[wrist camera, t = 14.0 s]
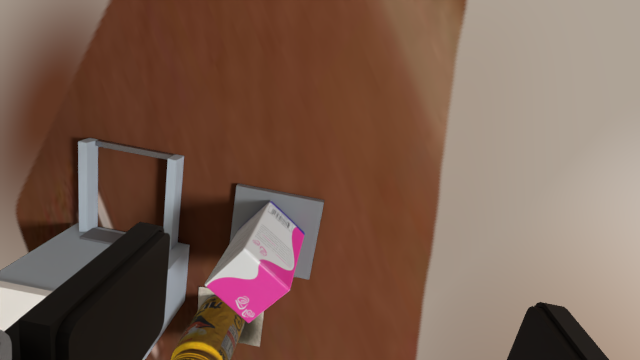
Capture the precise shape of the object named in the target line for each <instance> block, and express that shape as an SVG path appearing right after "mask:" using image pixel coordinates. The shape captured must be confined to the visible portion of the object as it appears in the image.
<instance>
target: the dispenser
mask: <svg viewBox="0 0 640 360" xmlns="http://www.w3.org/2000/svg"><path fill="white" fill-rule="evenodd" d="M96 140H98V139H93V138H87V139H84V140H81V141H78V180H79V223H77V224H75V225H73V226H72V227H70V228H68V229H67V230H65V231H64V232H62V233H60V234H59V235H57V236H55V237H54V238H52V239H51V240H49V241H47V242H46V243H44V244H42V245H41V246H39V247H38V248H36V249H34V250H33V251H31V252H29V253H28V254H26V255H25V256H23V257H22V258H20V259H18V260H17V261H15V262H13V263H12V264H10V265H8V266H7V267H5V268H4V269H2V270H0V330H2V331H5V330H6V329H8V328H9V327H10V326H11V325H13V324H14V323H15V322H16V321H17V320H18V319H19V318H21V317H22V316H23V315H24V314H26V313H27V312H28V311H29V310H31V309H32V308H33V307H34V306H35V305H37V304H38V303H39V302H40V301H42V300H43V299H44V298H45V297H47V296H48V295H49V294H50V293H52V292H53V291H54V290H55V289H57V288H58V287H59V286H60V285H62V284H63V283H64V282H65V281H67V280H68V279H69V278H70V277H72V276H73V275H74V274H75V273H77V272H78V271H79V270H80V269H81V268H83V267H84V266H85V265H86V264H88V263H89V262H90V261H91V260H93V259H94V258H95V257H96V256H98V255H99V254H100V253H101V252H103V251H104V250H105V249H106V248H108V247H109V246H110V245H111V244H113V243H114V242H115V241H116V240H118V239H119V238H120V237H121V236H122V235H124V234H125V233H126V232H122V231H117V230H112V229H107V228H101V227H98V146H96ZM183 164H184V156H181V155H176V154H175V155H173V156H172V157H170V158H168V162H167V179H166V195H165V211H164V227H163V228H164V233H169V235H170V248H169V262H168V276H167V290H166V304H165V318H164V324H163V327H162V330H161V332H160V334H159V336H158V337H157V339H156V340H155V342H154V343H153V345H152V346H151V348H150V349H149V350H148V352H147V353H146V355H145V356H144V358H143V359H142V360H145V359H146V357H147V356H148V354H149V353H150V351H151V350H152V348H153V347H154V346H155V344H156V343H157V341H158V340H159V338H160V337H161V335H162V334H163V332H164V331H165V329H166V328H167V326H168V325H169V323H170V322H171V320H172V319H173V317H174V316H175V315H176V313H177V312H178V310H179V309H180V307H181V306H182V304H183V303H184V301H185V294H186V282H187V271H188V259H189V247H190V245H188V244H183V243H178V231H179V217H180V204H181V190H182V177H183Z"/></svg>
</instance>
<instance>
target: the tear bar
mask: <svg viewBox="0 0 640 360" xmlns="http://www.w3.org/2000/svg"><path fill="white" fill-rule="evenodd" d="M96 146H99V147H104V148H110V149H115V150H120V151H125V152H130V153H135V154H141V155H146V156H151V157H156V158H161V159H166V160H168V158H170V157H172V156H173V155H175V154H171V153H166V152H161V151H155V150H150V149H145V148H140V147H135V146H130V145H124V144H119V143H114V142H109V141H104V140H96Z"/></svg>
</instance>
